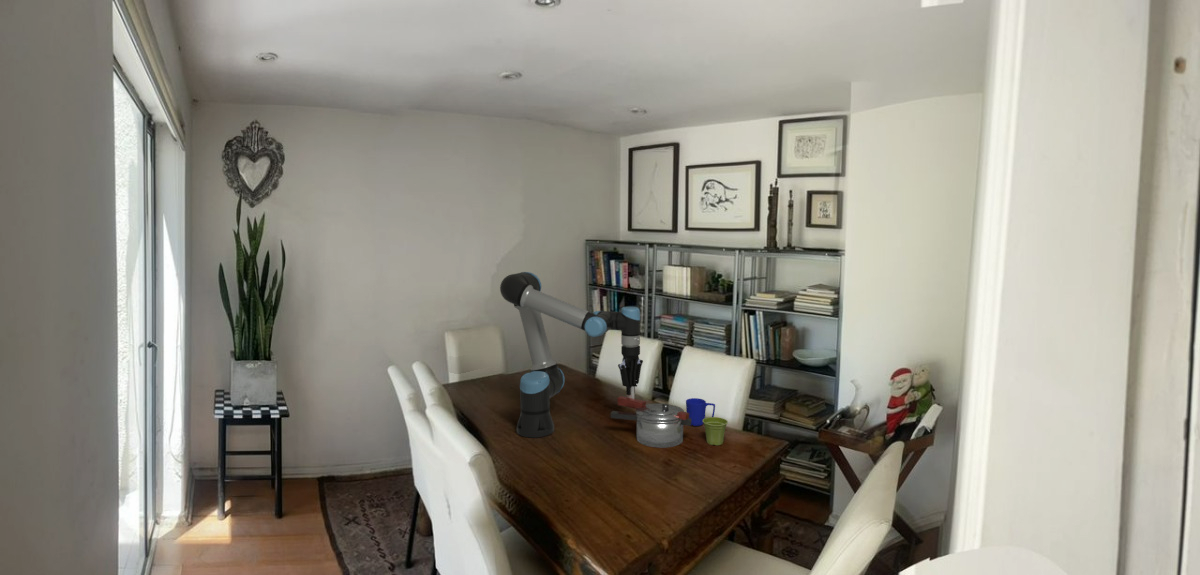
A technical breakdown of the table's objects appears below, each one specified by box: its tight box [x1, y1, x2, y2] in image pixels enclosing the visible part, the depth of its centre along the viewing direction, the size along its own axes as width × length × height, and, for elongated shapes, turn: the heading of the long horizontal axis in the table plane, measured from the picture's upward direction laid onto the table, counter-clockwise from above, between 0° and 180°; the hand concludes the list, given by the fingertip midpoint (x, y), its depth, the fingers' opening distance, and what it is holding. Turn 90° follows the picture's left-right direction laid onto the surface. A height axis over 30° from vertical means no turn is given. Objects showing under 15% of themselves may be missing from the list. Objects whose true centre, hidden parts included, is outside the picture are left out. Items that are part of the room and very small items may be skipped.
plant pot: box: [703, 416, 728, 446], centre depth 220 cm, size 9×9×9 cm
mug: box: [685, 397, 716, 427], centre depth 241 cm, size 8×12×10 cm
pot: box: [610, 410, 692, 449], centre depth 226 cm, size 32×18×10 cm, turn 73°
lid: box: [617, 395, 689, 421], centre depth 226 cm, size 32×19×4 cm, turn 52°
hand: (630, 402), depth 235 cm, fingers closed
